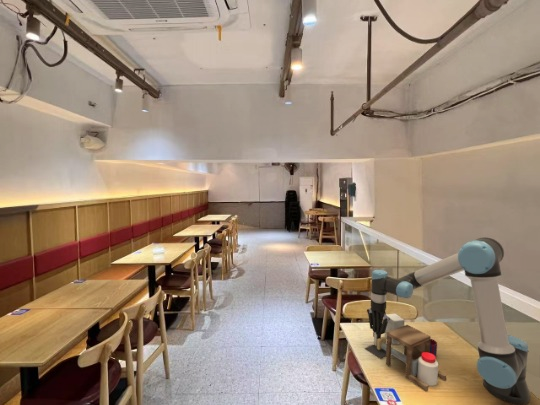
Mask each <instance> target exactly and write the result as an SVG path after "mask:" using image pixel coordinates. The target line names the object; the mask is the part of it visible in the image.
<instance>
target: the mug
mask: <svg viewBox="0 0 540 405" xmlns="http://www.w3.org/2000/svg"><path fill="white" fill-rule="evenodd" d="M437 350H438V341H436V340H435V339H432V338H430V353H431V354H433V355H434V356H435V357H436V358H437V356H438V355H437V354H438V353H437V352H438V351H437Z"/></svg>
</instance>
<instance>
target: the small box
mask: <svg viewBox="0 0 540 405" xmlns="http://www.w3.org/2000/svg"><path fill="white" fill-rule="evenodd" d="M386 316H387V317H388V318H390V320H389V321H388V324H387V327H386V330H385V333H384V337H386V340H387V332H389V331H392V330H394V329H397V328H400V327H402V326H405V321H406V320H405V319H404V318H402V317H401V316H400V315H398V314H397V313H388V314H387V313H386ZM391 345H403V344H402V343H400V342H398V341H396V340H395V339H393V338H392V344H391Z"/></svg>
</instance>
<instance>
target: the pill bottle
mask: <svg viewBox="0 0 540 405" xmlns="http://www.w3.org/2000/svg"><path fill="white" fill-rule="evenodd" d="M436 358H437V356H436V357H435V356H434V355H433V354H431V353H428V352H423V353H422V355H421V357H419V359H418V375H416V376H417V377H416V378H417V379H419V380H420V381H422V382H424V383H425V384H427V385H428V387H429V386H430V387H433V386H436V385H437V384H438V378H439V377H438V371H439V362H438V360H437V359H436Z"/></svg>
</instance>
